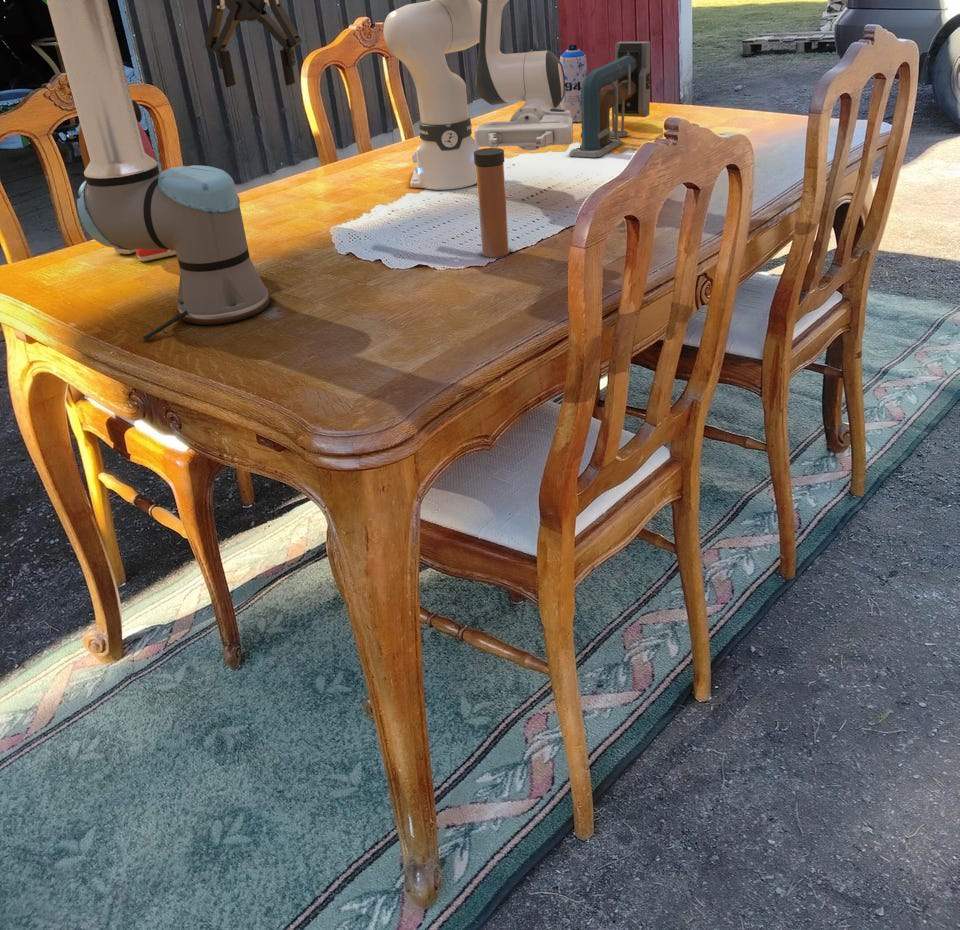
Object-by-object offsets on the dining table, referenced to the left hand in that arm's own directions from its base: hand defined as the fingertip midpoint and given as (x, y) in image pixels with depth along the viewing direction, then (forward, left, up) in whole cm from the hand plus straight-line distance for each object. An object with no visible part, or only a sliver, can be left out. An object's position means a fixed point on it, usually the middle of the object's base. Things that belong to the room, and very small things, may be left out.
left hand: (260, 85), depth 196 cm
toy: (-22, +20, -28) cm, 41 cm away
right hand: (+4, -52, -13) cm, 54 cm away
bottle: (-17, -53, -28) cm, 62 cm away
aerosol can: (+98, -43, -28) cm, 111 cm away
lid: (-17, -53, -10) cm, 56 cm away
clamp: (+72, -58, -28) cm, 97 cm away
